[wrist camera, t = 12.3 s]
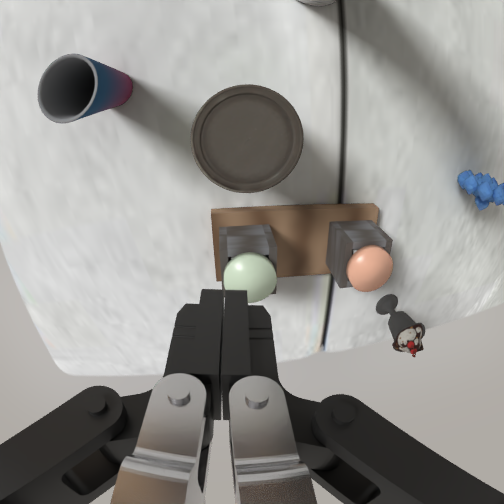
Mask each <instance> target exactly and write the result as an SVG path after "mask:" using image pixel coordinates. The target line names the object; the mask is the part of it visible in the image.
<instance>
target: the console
mask: <svg viewBox="0 0 504 504" xmlns="http://www.w3.org/2000/svg"><path fill="white" fill-rule="evenodd" d="M378 211H379V208H378V207H377V206H376V205H375V204H373V203H367V204H313V205H283V206H259V207H239V208H222V209H211V220H212V233H213V245H214V257H215V268H216V279H217V281H222V290H224V297H225V287H224V270H225V267H226V265H227V264H228V262H229V261H230V260H231V257H235V256H237V255H239V254H242V253H248V252H254V253H259V254H262V255H265V257H267V258H268V259H269V260H270V261H271V262H272V264H273V266H274V269H275V272H276V276H277V277H290V276H304V275H316V274H328V273H332V275H333V277H334V279H335V280H336V282H337V284H338V286H339V287H340V288H346V287H353V286H352V284H351V282H350V281H349V279H348V277H347V274H346V267H347V264H348V261H349V259H350V258H351V256H352V249H360V248H362V247H364V246H368V245H377V246H380V247H382V248H383V249H384V250H385V251H386V252H387V253H388V254H389V255H390V251H391V246H392V241H393V240H392V239H391V238H390V237H389V236H388V235H387V234H386V233H385V232H384V231H383V230H382V229H381V228H379V227H378V226H377V218H378ZM271 294H276V286H275V288H274V290H273V292H272V293H271Z"/></svg>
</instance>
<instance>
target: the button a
mask: <svg viewBox="0 0 504 504" xmlns="http://www.w3.org/2000/svg"><path fill="white" fill-rule="evenodd" d="M276 283H277V276H276V272H275V269H274V266H273V264H272V262H271V261H270V260H269V259H268V258H267V257H265V255H262V254H259V253H254V252H248V253H242V254H239V255H237V256H235V257H231V260H230V261H229V262H228V264H227V265H226V267H225V270H224V287H225V290H247V297H248V303H254V302H258V301H261V300H263V299H265V298H266V297H268V296H269V295H270V294H271V293H272V292H273V290H274V288H275V286H276Z"/></svg>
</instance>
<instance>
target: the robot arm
mask: <svg viewBox="0 0 504 504" xmlns="http://www.w3.org/2000/svg"><path fill="white" fill-rule="evenodd" d="M298 1H300V2H302V3H305V4H308V5H313V6H324V5H329V4H331V3H334V2H335V1H337V0H298ZM221 401H223V420H229V435H230V453H231V463H232V473H233V484H234V494H235V504H317V501H316V497H315V493H314V489H313V484H312V480H311V478H312V479H313V480H315V481H316V482H317V483H318V484H320V485H321V486H322V487H323V488H325V489H326V490H327V491H328V492H329V493H331V494H332V495H333V496H335V497H336V498H337V499H338V500H340V501H341V502H343V503H344V504H504V494H503V493H501V492H499V491H498V490H496V489H494V488H492V487H491V486H489V485H487V484H485V483H484V482H482V481H481V480H479V479H477V478H476V477H474V476H472V475H470V474H469V473H467V472H466V471H464V470H462V469H461V468H459V467H458V466H456V465H454V464H453V463H451V462H450V461H448V460H446V459H445V458H443V457H442V456H440V455H439V454H437V453H436V452H434V451H432V450H431V449H429V448H428V447H426V446H425V445H423V444H422V443H420V442H419V441H417V440H416V439H414V438H413V437H411V436H409V435H408V434H407V433H405V432H404V431H402V430H401V429H399V428H398V427H397V426H395V425H394V424H392V423H391V422H389V421H388V420H386V419H385V418H383V417H382V416H381V415H379V414H378V413H376V412H375V411H374V410H372V409H371V408H369V407H368V406H366V405H365V404H364V403H362V402H361V401H360V400H358V399H356V398H354V397H352V396H349V395H344V394H339V395H338V394H337V395H332V396H329V397H327V398H325V399H324V400H322V402H321V403H320V402H315V401H310V400H306V399H302V398H298V397H296V396H294V395H292V394H290V393H289V392H288V391H286V390H285V389H284V388H283V386H282V385H281V383H280V381H279V378H278V372H277V363H276V355H275V348H274V340H273V332H272V324H271V316H270V315H269V313H268V312H267V311H266V309H265V308H264V306H257V305H248V297H247V290H225V307H224V290H215V289H202V291H201V297H200V303H199V304H185V305H184V306H183V308H182V309H181V310H180V311H179V312H178V313H177V317H176V321H175V328H174V330H173V337H172V339H171V344H170V349H169V353H168V358H167V363H166V368H165V373H164V376H163V378H162V379H160V380H159V381H158V382H157V383H156V384H155V386H154V388H153V389H151V390H149V391H147V392H145V393H141V394H136V395H130V396H123V397H120V396H119V395H118V393H117V392H116V391H114V390H113V389H111V388H109V387H105V386H93V387H89V388H87V389H85V390H83V391H82V392H80V393H79V394H77V395H76V396H74V397H73V398H71V399H70V400H68V401H67V402H65V403H64V404H62V405H61V406H59V407H58V408H56V409H55V410H53V411H52V412H50V413H49V414H47V415H46V416H44V417H43V418H41V419H40V420H38V421H36V422H35V423H33V424H32V425H30V426H29V427H27V428H26V429H24V430H22V431H21V432H19V433H18V434H16V435H15V436H13V437H12V438H10V439H9V440H7V441H5V442H4V443H2V444H1V445H0V504H89V503H90V502H92V501H93V500H95V499H96V498H97V497H99V496H100V495H102V494H103V493H104V492H106V491H107V490H108V489H110V488H111V487H112V486H114V485H115V487H114V491H113V495H112V499H111V503H110V504H205V491H206V482H207V475H208V468H209V460H210V452H211V444H212V438H213V424H214V420H221Z"/></svg>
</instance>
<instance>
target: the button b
mask: <svg viewBox="0 0 504 504" xmlns="http://www.w3.org/2000/svg"><path fill="white" fill-rule="evenodd" d="M392 270H393V261H392V258H391V257H390V255H389V254H388V253H387V252H386V251H385V250H384V249H383V248H382V247H380V246H377V245H368V246H364V247H362V248H360V249H352V256H351V258H350V259H349V261H348V264H347V267H346V274H347V277H348V279H349V281H350V282H351V284H352V286H353V287H354V288H355V289H357V290H358V291H362V292H370V291H373V290H376V289H378V288H380V287H381V286H382V285H383V284H385V283H386V281H387V280H388V279H389V277H390V275H391V273H392Z"/></svg>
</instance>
